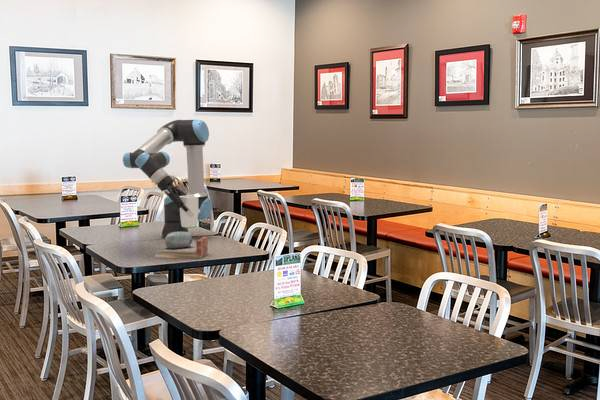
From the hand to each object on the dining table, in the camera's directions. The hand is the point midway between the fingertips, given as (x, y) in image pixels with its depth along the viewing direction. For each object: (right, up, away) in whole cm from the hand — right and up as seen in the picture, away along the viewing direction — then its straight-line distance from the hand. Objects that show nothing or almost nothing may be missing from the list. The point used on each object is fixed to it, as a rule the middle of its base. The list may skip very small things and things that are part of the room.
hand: (195, 214), depth 306 cm
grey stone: (-12, -18, +24) cm, 32 cm away
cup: (-3, -6, +1) cm, 7 cm away
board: (-7, -20, +3) cm, 21 cm away
